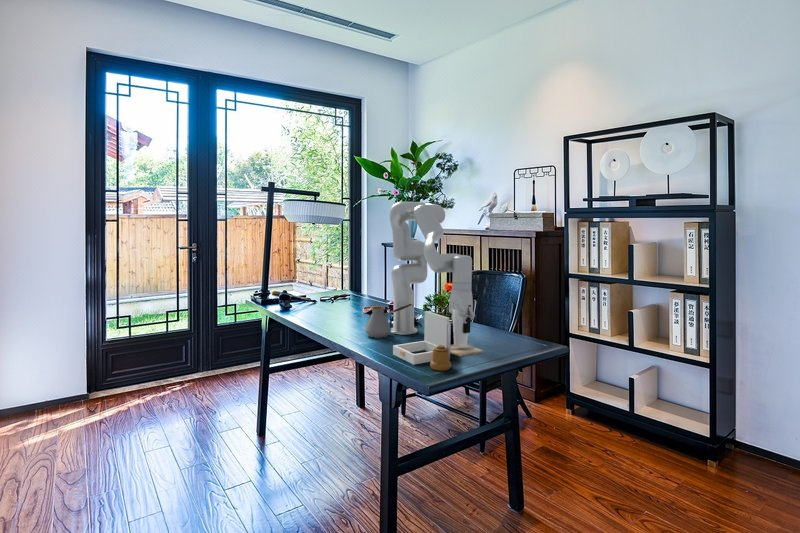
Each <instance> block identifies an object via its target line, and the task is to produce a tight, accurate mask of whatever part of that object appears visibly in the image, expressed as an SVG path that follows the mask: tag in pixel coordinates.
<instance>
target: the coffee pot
mask: <svg viewBox="0 0 800 533" xmlns="http://www.w3.org/2000/svg"><path fill="white" fill-rule="evenodd" d="M408 306H412V304H409V305H406V306H403V307H400V308H398V309H395V310H394V309H393V310H391V311H388V312H386V313H385V310H386V307H385V306H372V307H370V309H371V311H372V313H371V315H370V318H369V320H368V323H367V325H366V326H365V330H364V331H365V333H366V334H367V335H368V336H369V337H370V338H372V337H375V338H374V339H383V338H382V337H384V338H386V337H388V335H389V334H390V333H391V328H392V327H391V325H390V324H389V321H388V319H387V317H386V316H387V315H390V314H394V312H396V311H399V310H402V309H404V308H406V307H408ZM412 308H413V306H412ZM380 337H381V338H380Z"/></svg>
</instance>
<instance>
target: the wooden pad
mask: <svg viewBox="0 0 800 533" xmlns="http://www.w3.org/2000/svg"><path fill="white" fill-rule="evenodd" d="M482 353H485V350H483V349H480V348H478V347H474V346H471V345H469V344H467V346H466V347H456V346H455V345H454V343H453V344H450V354H452V355H455V356H457V357H459V358H460V357H466V356H472V355H478V354H482Z"/></svg>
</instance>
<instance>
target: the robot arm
mask: <svg viewBox="0 0 800 533" xmlns="http://www.w3.org/2000/svg"><path fill="white" fill-rule="evenodd" d="M445 219H446V212H445V209H444V208H443V206H442V205H439V204H436V203H429V202H423V201H398V202H396V203H394V204H393V205H392V206H391V208H390V210H389V223H390V227H391V231H392V232H391V233H392V248H393V250H392V251H393V256H394V259H395V260H396V261H399V262H408V261H412V263H400V264H397V265H395V266H394V267H392V269H391V271H390V272H391V273H390V274H391V281H392V289H393V290H392V291H393V311H394V310H395V309H398V308H400V307H403V306H406V305H409V304H412V306H413V308H412V306H408V307H406V308H404V309H402V310H399V311H396V312H393V321H391V324H392V327H390V328H391V332H390V333H392V334H394V335H403V336H405V335H407V336H408V335H413V334H416V333H418V329H417V328H416V327H415V293H414V291H413V288H412V287H411V285H416V284H422V283H424V282H425V281H426V280H427V278H428V267H429V268H430V270H431V271H433V272H434V273H438V274H441V273H452V279H451V280H452V281H451V282H452V286H451V289H450V294H449V300H448V301H449V303H448V304H449V305H448V311H449V316H451V317H450V319H451V329H452V330H453V309H454V310H458V315H459V316H461V317H463V319H464V323H463V333H468V334H470V333H471V324H472V322H473V320H474V319H475V317H476V314H475V312H474V300H473V292H472V280H473V279H472V278H473V277H472V276H473V259H472V257H471V255H465V254H459V253H453V252H452V253H439V252H438V250H437V248H436V246H435V243H436V242H437V241H439V240H440V239H441V238H442V237H443V236H444V233H445V230H444V228H443V227H442V225H441V223H443V222H444V221H445ZM407 221H414V222H416V223H417V225H418V228H419V229H420V231H421V234H422V235H423V237H424V239H425V240H424V242H423V241H422V240H420V239H412V231H411V228H410V226H409V224H408V223H407ZM467 313H468V315H466V314H467ZM466 317H468V318H467V319H466Z"/></svg>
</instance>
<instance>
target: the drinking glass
mask: <svg viewBox="0 0 800 533" xmlns="http://www.w3.org/2000/svg"><path fill="white" fill-rule="evenodd" d="M466 315H468V313H467V314H466ZM467 318H468V317H466V319H467ZM463 323H464V319H463V317H461V316H459V315H458V310H454V309H453V329H452V330H453V344H454V345H455V346H456V347H466V346H467V345H468V341H469V340H468V337H469V333H463Z"/></svg>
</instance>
